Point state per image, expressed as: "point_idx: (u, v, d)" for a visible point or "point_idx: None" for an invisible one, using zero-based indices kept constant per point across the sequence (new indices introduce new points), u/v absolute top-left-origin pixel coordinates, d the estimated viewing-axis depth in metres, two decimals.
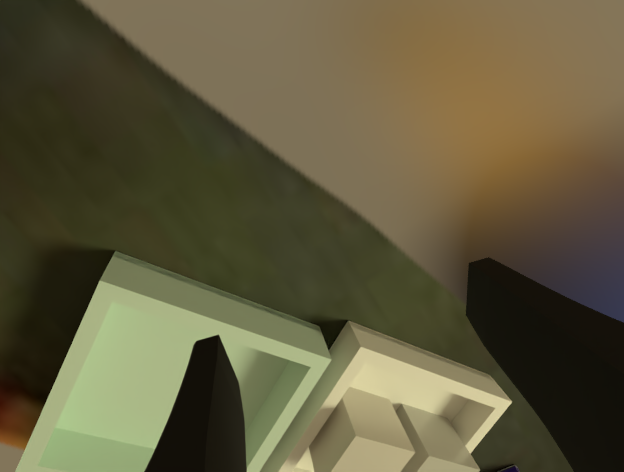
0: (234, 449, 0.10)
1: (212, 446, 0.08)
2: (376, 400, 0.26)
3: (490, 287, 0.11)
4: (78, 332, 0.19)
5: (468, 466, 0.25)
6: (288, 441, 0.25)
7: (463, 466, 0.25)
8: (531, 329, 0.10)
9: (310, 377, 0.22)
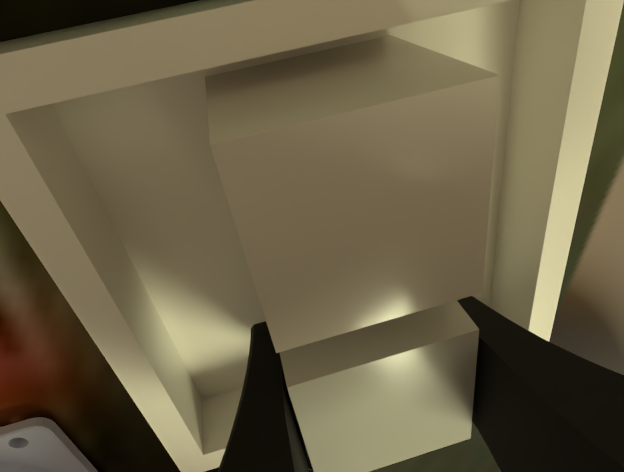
0: (298, 429, 0.10)
1: (288, 423, 0.08)
2: None
3: None
4: None
5: (470, 414, 0.10)
6: (175, 12, 0.07)
7: (466, 409, 0.10)
8: None
9: None
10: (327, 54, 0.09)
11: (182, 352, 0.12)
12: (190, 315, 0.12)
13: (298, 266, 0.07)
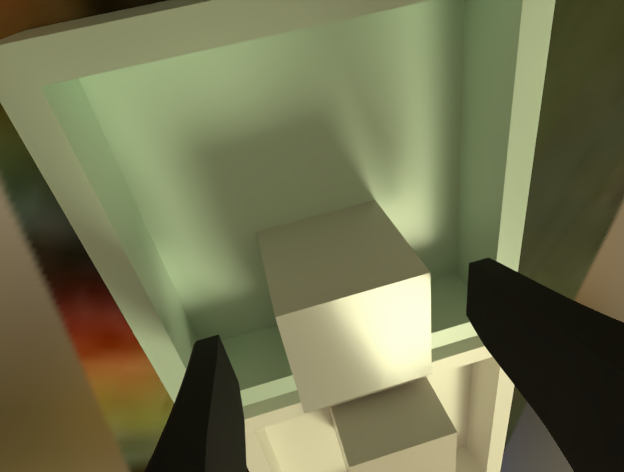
0: (234, 449, 0.10)
1: (212, 446, 0.08)
2: None
3: (490, 287, 0.11)
4: None
5: (430, 351, 0.12)
6: None
7: (426, 346, 0.12)
8: (531, 329, 0.10)
9: None
10: None
11: None
12: (295, 464, 0.21)
13: None
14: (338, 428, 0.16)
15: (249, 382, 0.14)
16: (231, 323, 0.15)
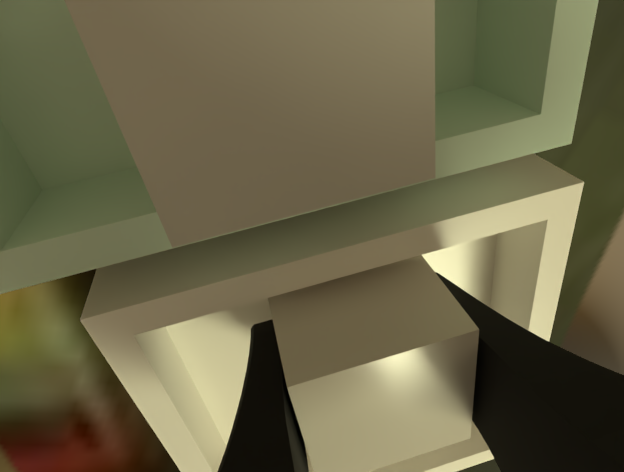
0: (298, 429, 0.10)
1: (288, 422, 0.08)
2: None
3: None
4: None
5: (433, 117, 0.06)
6: (249, 251, 0.10)
7: (425, 97, 0.06)
8: None
9: (511, 136, 0.08)
10: None
11: None
12: None
13: (338, 439, 0.10)
14: (277, 332, 0.09)
15: (96, 222, 0.08)
16: (88, 145, 0.09)
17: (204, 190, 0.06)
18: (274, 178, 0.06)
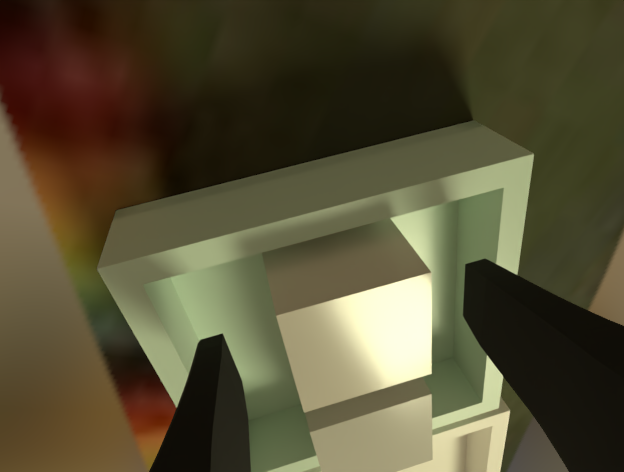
0: (238, 448, 0.10)
1: (217, 445, 0.08)
2: None
3: (486, 288, 0.11)
4: (438, 181, 0.11)
5: (431, 444, 0.15)
6: None
7: (428, 441, 0.15)
8: (527, 330, 0.10)
9: (468, 411, 0.18)
10: None
11: None
12: None
13: (319, 366, 0.12)
14: (269, 278, 0.12)
15: (280, 461, 0.17)
16: (263, 405, 0.18)
17: None
18: (370, 470, 0.15)
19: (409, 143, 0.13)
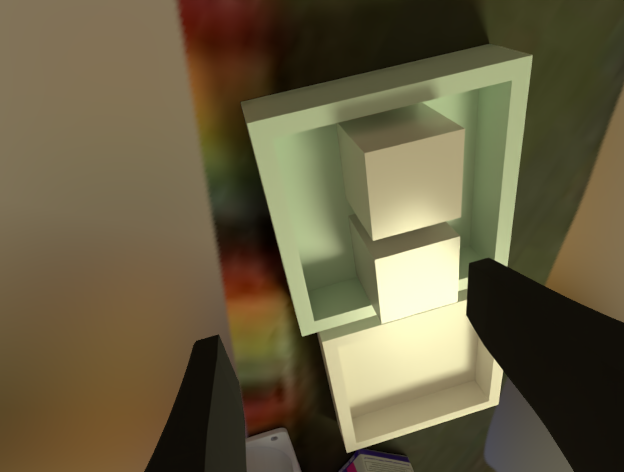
0: (234, 449, 0.10)
1: (213, 446, 0.08)
2: None
3: (490, 287, 0.11)
4: (468, 72, 0.17)
5: (457, 286, 0.21)
6: None
7: (455, 282, 0.21)
8: (531, 329, 0.10)
9: None
10: (392, 111, 0.19)
11: None
12: (353, 387, 0.29)
13: (387, 200, 0.17)
14: (353, 139, 0.17)
15: (342, 310, 0.22)
16: (325, 276, 0.24)
17: (394, 309, 0.20)
18: (412, 305, 0.21)
19: (445, 57, 0.19)
